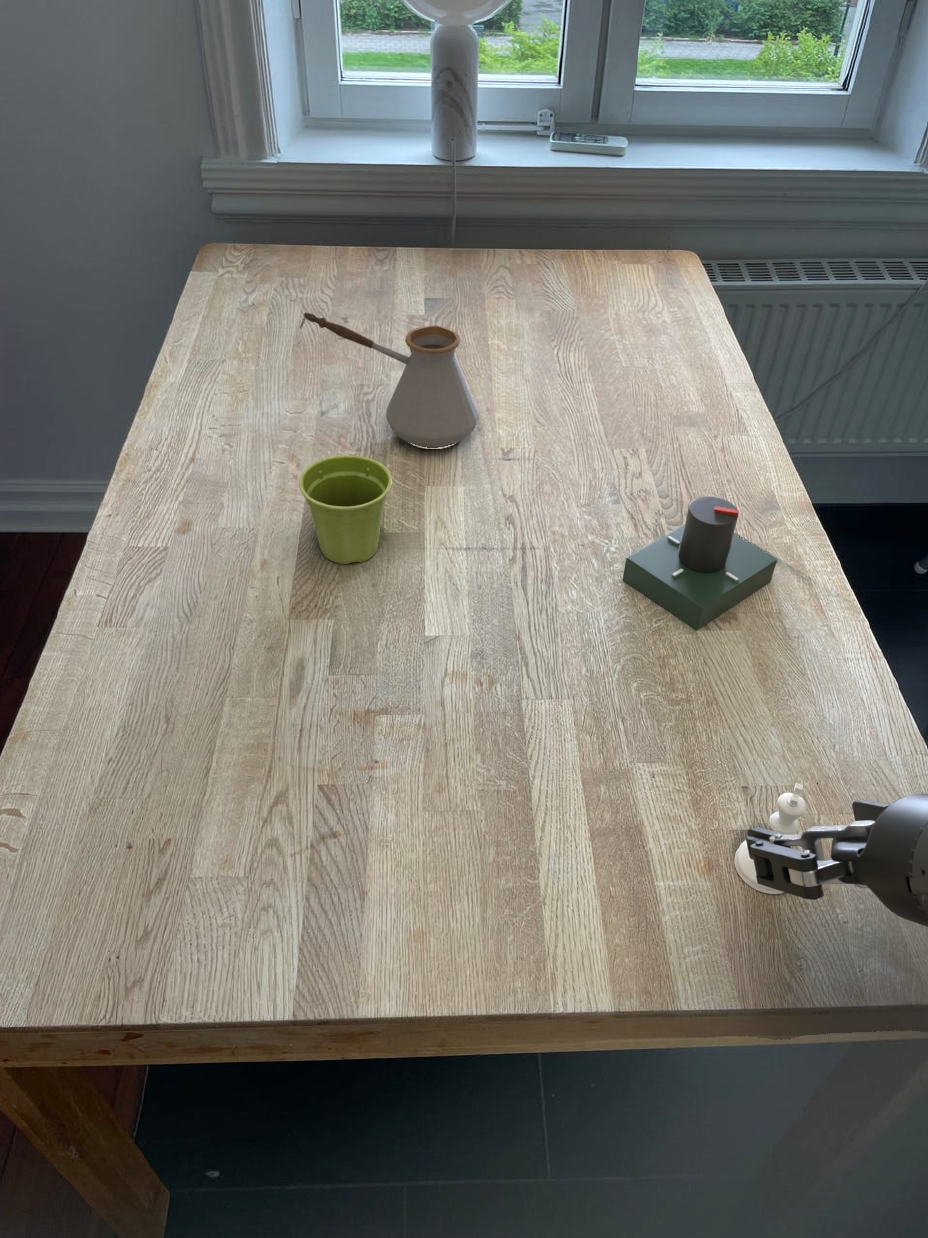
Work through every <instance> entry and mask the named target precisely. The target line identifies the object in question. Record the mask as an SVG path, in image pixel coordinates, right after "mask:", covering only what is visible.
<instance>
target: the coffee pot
mask: <svg viewBox="0 0 928 1238" xmlns="http://www.w3.org/2000/svg"><path fill="white" fill-rule="evenodd" d="M306 320H308V321H309V322H311V323H315V324H317V325H318V326H319V328H320V329H324V328H325V329H326V330H329V331H331V332H332V333H333V334H335V335H337V336H338V337H341V338H343V339H345V340H348V341H351V342H353V343H356V344H358V345H361V346H363V347H366V348H369V349H373V350H375V351H377V352H379V353H381V354H383V355H385V356H388V357H389V358H392V359H394V360H396V361H398V362H400V363H402V364H405V367H404V369H403V371H402V374H401V376H400V379H399V380H398V383H397V384H396V387H395V389H394V392H393V394H392V396H391V398H390V401H389V403H388V405H387V408H386V413H385V417H386V421H387V423H388V425H389V426H390V429H391V430H392V432H394V433H395V434H396V435H397V436H398V437H399V438H400V439H402V440H403V441H405V442H406V441H407V442H409V443H412V444H415V445H418V446H422V447H427V448H438V447H444V446H448V445H452V444H455V443H457V442H459V441H460V442H461V441H463V440H464V439H466V438H467V437H468V436H469V435H470V434H471V433H472V432H473V431H474V430H475V428H476V426H477V424H478V422H479V419H480V412H479V411H480V410H479V407H478V405H477V403H476V400H475V398H474V396H473V394H472V391H471V388H470V386H469V384H468V382H467V379H466V378H465V374H464V373H463V371H462V369H461V366H460V363H459V361H458V359H457V357H456V354H455V353H456V351H457V350H456V349H457V348H458V347H459V345H460V343H461V336H460V335H459V333H457V332H456V331H455V330H453V329H450V328H449V327H445V326H441V325H439V324H431V325H426V326H420V327H417V328H414V329H411V330H410V331H409V332H407V334H406V336H405V337H404V338H405V340H404V342H405V344H406V345H407V347H408V348H409V351H410V356H409V355H406V354H404V353H402V352H399V351H396V350H394V349H392V348H389V347H387V346H384V345H382V344H380V343H378V342H375V341H374V340H372V339H371V338H368V337H366V336H364V335H362V334H360V333H358V332H356V331H354V330H353V329H351V328H349V327H347V326H344V325H343V324H338V323H334V322H331V321H328V320H327V318H326V317H318V316H317V315H316V314H313V313H310V312H306V311H305V312H304V313H303V318H302V321H301V323H300V327H299V330H302V328H303V326H304V324H305V323H306V322H305V321H306ZM407 442H406V443H407ZM460 442H459V443H460Z"/></svg>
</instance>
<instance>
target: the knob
mask: <svg viewBox="0 0 928 1238" xmlns="http://www.w3.org/2000/svg"><path fill="white" fill-rule="evenodd" d="M739 511H740V509H738V508H737V507H736V506H735V505H734V504H733V503H731V502H730V501H729V500H726V499H725V498H721V497H717V496H700V497H697V498H695V499H693V500H692V501H691V502H690V503H689V506H688V509H687V514H686V519H685V523H684V524H685V527H684V532H683V536H682V541H681V546H680V550H679V559H680V561H681V562H682V563H683V564H684V565H685V566H686V567H688V568H689V569H691V570H694V571H697V572H703V573H712V572H716V571H719V570H721V569H722V568H723V567H724V566H725V564H726V560H727V557H728V553H729V549H730V545H731V542H732V538H733V534H735V530H736V526H737V523H738V519H739Z"/></svg>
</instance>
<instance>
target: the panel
mask: <svg viewBox="0 0 928 1238" xmlns="http://www.w3.org/2000/svg"><path fill="white" fill-rule="evenodd" d="M684 527H685V523H684V524H683V525H681V526H679V527H677V528H675V529H674V530H672V531H670V532H668V533H667V534H666V535H663V536H661V537H660V538H658V539H656V540H655V541H653V542H651V543H649V544H647V545H646V546H644V547H642V548H640V549H638V550H637V551H635V552H633V553H632V554H630V555H628V556H627V557H626V558H625V562H624V563H625V564H624V567H623V573H622V574H623V575H622V581H623V582H625V583H627V584H628V585H629V586H631V587H632V588H634V589H635V590H636V591H638V592H639V593H640V594H643V595H644V596H646V597H647V598H648V599H650V600H651V601H652V602H654V603H656V604H657V605H659V606H660V607H662V608H663V609H665V610H666V611H667V612H669V613H671V614H672V615H673V616H675V617H676V618H678V619H679V620H680V621H682V622H683V623H685V624H687V625H688V626H690V627H691V628H692V629H695V631H698V630H700V629H702V628H703V627H705V626H706V625H707V624H709V623H710V622H712V621H713V620H716V619H717V618H719V617H720V616H721V615H723V614H724V613H726V612H727V611H729V610H730V609H732V608H733V607H735V606H736V605H738V604H739V603H741V602H742V601H744V600H745V599H748V597H750V596H752V595H753V594H754V593H756V592H758V591H759V590H761V589H762V588H763V587H765V586H767V585H768V584H770V583H771V582H772V578H773V575H774V573H775V569H776V566H777V562H778V559H777V558H775V557H774V556H772V555H770V554H769V553H767V552H765V551H763V550H762V549H760V548H758V547H756V546H755V545H754V544H753V543H750V542H749V541H746V540H745V539H743V538H742V537H740V536H738V535H737V534H736V533H734V534H733V538H732V542H731V545H730V549H729V553H728V557H727V560H726V564H725V566H724V567H723V568H722V569H721V570H719V571H716V572H712V573H703V572H697V571H694V570H691V569H689V568H688V567H686V566H685V565H684V564H683V563H682V562H681V561H680V559H679V550H680V546H681V541H682V536H683V532H684Z"/></svg>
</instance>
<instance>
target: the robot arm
mask: <svg viewBox="0 0 928 1238" xmlns="http://www.w3.org/2000/svg"><path fill="white" fill-rule="evenodd" d="M851 805H852V806H851V807H852V813H853V818H854V821H852V822H850V823H849V824H839V825H837V824H834V825H812V826H810V827H809V828H807V829H806V830H805V831H803V832H802V833H796V834H782V833H778V832H775V831H773V830H771V829H767V828H763V827H759V826H757V827H753V828H749V829H747V836H745V840H746V842H747V847H748V852H749V857H750V859H753V860H754V865H755V870H756V879H757V883H758V884H760V885H763V886H766V887H770V888H773V889H776V890H779V891H782V892H784V893H785V894H789V895H792V896H795V897H798V898H802V899H805V900H811V901H816V900H818V899H821V898H823V897H824V896H825V894H824V889H823V885H855V886H856V887H858V888H860V889H869V890H870V891H871V892H872V893H873V894H874V895H875V896H876V898H877V899H878V900H879V901H880V902H881V903H882V904H883V905H884V906H885V907H886V908H887V909H888V910H889V911H890V912H891V913H893V914H894V915H896V916H898V917H900V918H901V919H903V920H906V921H908V922H909V921H910V922H912V923H915V924H918V925H921V926H924V927H925V928H926V927H927V928H928V793H914V794H909V795H906V796H903V797H901V798H899V799H897V800H894V801H893V802H892V803H891V804H890V803H885V802H880V801H875V800H869V799H859V800H855V801H853V802H852V803H851ZM823 839H832V840H831V849H830V858H831V859H825V854H824V848H823V843H822V840H823ZM792 847H801V848H802V849H803V850H799V849H796V848H792Z"/></svg>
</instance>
